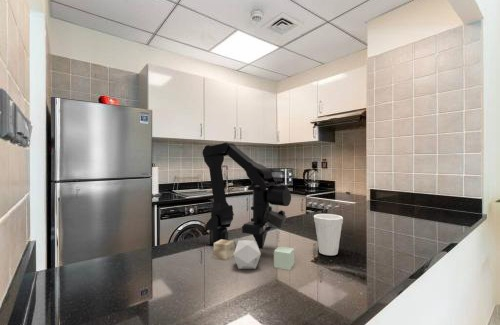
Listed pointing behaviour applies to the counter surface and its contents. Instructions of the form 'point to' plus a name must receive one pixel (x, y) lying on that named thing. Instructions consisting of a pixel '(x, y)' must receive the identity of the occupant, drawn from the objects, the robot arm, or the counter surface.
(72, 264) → the counter surface
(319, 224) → the cup
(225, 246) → the birch block
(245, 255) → the die
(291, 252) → the sage block
